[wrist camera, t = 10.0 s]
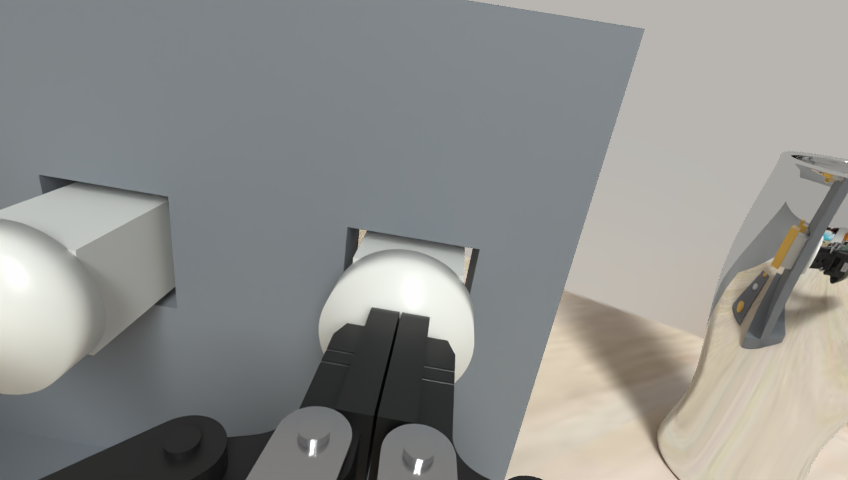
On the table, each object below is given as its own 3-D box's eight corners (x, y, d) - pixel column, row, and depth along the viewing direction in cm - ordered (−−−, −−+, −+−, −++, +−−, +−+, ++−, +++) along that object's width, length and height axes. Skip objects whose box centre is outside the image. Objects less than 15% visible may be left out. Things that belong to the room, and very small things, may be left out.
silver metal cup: (830, 565, 19) (1101, 230, 13) (650, 491, 21) (811, 171, 15) (779, 444, 25) (947, 178, 19) (643, 396, 27) (755, 141, 21)
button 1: (314, 386, 13) (323, 257, 11) (376, 244, 22) (386, 160, 20) (458, 412, 13) (488, 285, 11) (461, 258, 21) (478, 175, 20)
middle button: (-85, 378, 11) (-143, 224, 9) (161, 227, 20) (153, 134, 18) (79, 407, 11) (49, 256, 9) (253, 243, 20) (252, 151, 18)
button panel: (-355, 510, 15) (-963, -251, 7) (-39, 329, 24) (-168, -88, 16) (491, 666, 14) (740, 22, 7) (481, 420, 23) (583, 33, 16)
